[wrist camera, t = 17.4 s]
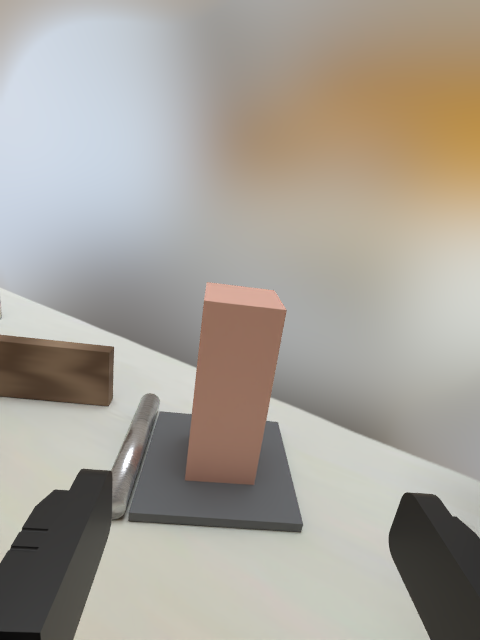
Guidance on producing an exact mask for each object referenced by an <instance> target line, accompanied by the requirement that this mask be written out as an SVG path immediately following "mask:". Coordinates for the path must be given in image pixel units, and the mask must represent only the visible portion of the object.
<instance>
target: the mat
mask: <svg viewBox="0 0 480 640" xmlns="http://www.w3.org/2000/svg"><path fill="white" fill-rule="evenodd" d="M191 418H192V414H182V413H171V412H160V413H159V416H158V420H157V423H156V426H155V429H154V433H153V436H152V439H151V442H150V446H149V449H148V452H147V455H146V459H145V462H144V465H143V469H142V472H141V475H140V478H139V482H138V485H137V488H136V491H135V495H134V498H133V501H132V504H131V508H130V511H129V521H140V522H155V523H171V524H187V525H202V526H218V527H233V528H249V529H264V530H280V531H295V532H301V530H302V526H303V522H302V518H301V514H300V510H299V506H298V502H297V498H296V494H295V490H294V486H293V482H292V478H291V474H290V469H289V465H288V461H287V457H286V453H285V449H284V445H283V441H282V437H281V433H280V429H279V425H278V422H270V421H266V424H265V429H264V434H263V440H262V445H261V451H260V456H259V461H258V467H257V472H256V477H255V483H254V485H247V484H232V483H216V482H201V481H186V480H185V474H186V465H187V455H188V446H189V437H190V427H191Z"/></svg>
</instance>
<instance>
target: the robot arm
mask: <svg viewBox="0 0 480 640" xmlns="http://www.w3.org/2000/svg"><path fill="white" fill-rule="evenodd" d="M112 482H113V475H112V471H107V470H92V469H81V470H80V472H79V473H78V475H77V477H76V478H75V480H74V482H73V484H72V486H71V488H70V490H69V491H67V490H54V491H53V492H51V493H50V494H49V495H48V496H47V497H46V498H45V499H43V500H42V501H41V502H40V503H39V504H38V505H37V506H35V508H34V509H33V511H32V513H31V514H30V516H29V518H28V519H27V521H26V522H25V524H24V526H23V527H22V531H21V532H19V534H18V535H17V537H16V539H15V540H14V542H13V544H12V545H11V549H10V551H9V550H8V552H7V553H6V555H5V557H4V558H3V560H2V561H1V563H0V640H73V638H74V636H75V633H76V630H77V627H78V624H79V621H80V618H81V615H82V612H83V609H84V606H85V604H86V601H87V598H88V595H89V592H90V589H91V586H92V583H93V580H94V577H95V574H96V571H97V569H98V566H99V563H100V560H101V557H102V554H103V551H104V548H105V545H106V542H107V539H108V535H109V531H110V526H111V520H112ZM389 548H390V552H391V555H392V558H393V560H394V563H395V565H396V567H397V569H398V571H399V573H400V575H401V577H402V580H403V582H404V584H405V586H406V588H407V590H408V592H409V594H410V597H411V599H412V601H413V603H414V605H415V607H416V609H417V611H418V614H419V616H420V618H421V620H422V622H423V624H424V626H425V629H426V631H427V633H428V635H429V637H430V639H431V640H480V538H479V537H478V536H477V534H475V533H474V532H473V531H472V530H471V529H470V528H469V527H467V526H466V525H465V524H464V523H463V522H462V521H461V520H460V519H458V518H457V517H453V516H452V515H451V514H450V513H449V511H448V510H447V508H446V507H445V506H444V504H443V503H442V501H441V500H440V499H439V498H438V497H437V496H436V495H433V494H422V493H405V494H404V495H403V496H402V498H401V501H400V504H399V507H398V509H397V512H396V515H395V518H394V521H393V524H392V526H391V529H390V532H389Z"/></svg>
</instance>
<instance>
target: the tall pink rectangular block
mask: <svg viewBox="0 0 480 640" xmlns="http://www.w3.org/2000/svg"><path fill="white" fill-rule="evenodd" d="M285 316H286V308H285V307H284V305H283V304H282V302H281V301H280V299H279V297H278V296H277V294H276V293H275V291H274V290H266V289H258V288H250V287H242V286H233V285H225V284H217V283H208V282H207V285H206V292H205V298H204V307H203V316H202V325H201V334H200V344H199V353H198V362H197V372H196V381H195V390H194V400H193V409H192V418H191V427H190V437H189V446H188V455H187V465H186V474H185V480H186V481H201V482H216V483H232V484H247V485H254V483H255V477H256V472H257V467H258V461H259V456H260V451H261V445H262V440H263V434H264V429H265V424H266V418H267V413H268V407H269V402H270V397H271V391H272V386H273V380H274V375H275V370H276V364H277V359H278V354H279V348H280V342H281V337H282V332H283V327H284V321H285Z"/></svg>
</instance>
